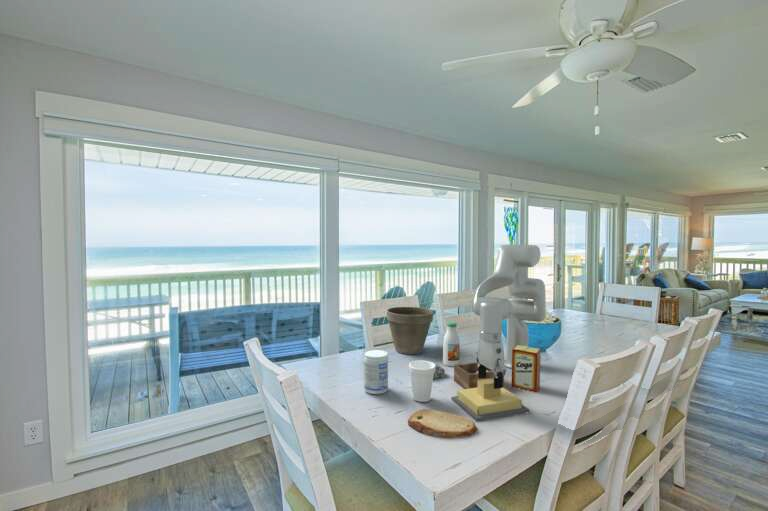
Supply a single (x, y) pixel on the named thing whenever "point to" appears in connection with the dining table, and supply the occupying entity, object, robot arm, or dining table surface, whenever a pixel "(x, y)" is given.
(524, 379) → the baking soda box
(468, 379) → the box
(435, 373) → the egg carton
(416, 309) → the plant pot
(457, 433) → the slice of bread
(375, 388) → the supplement tub
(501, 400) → the lid
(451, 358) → the milk bottle
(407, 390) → the dining table surface
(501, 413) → the mat
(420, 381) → the cup
